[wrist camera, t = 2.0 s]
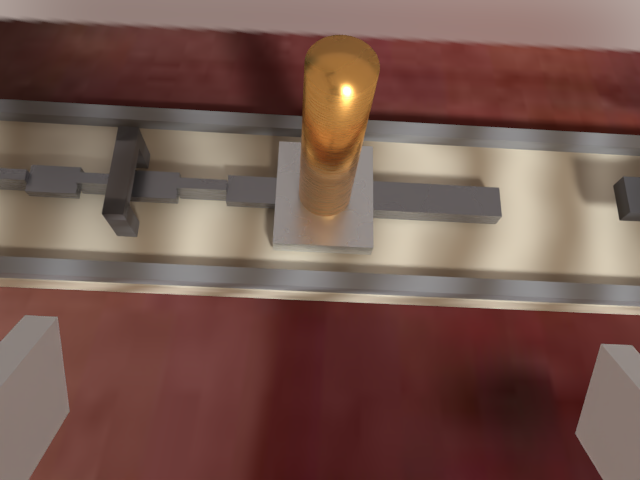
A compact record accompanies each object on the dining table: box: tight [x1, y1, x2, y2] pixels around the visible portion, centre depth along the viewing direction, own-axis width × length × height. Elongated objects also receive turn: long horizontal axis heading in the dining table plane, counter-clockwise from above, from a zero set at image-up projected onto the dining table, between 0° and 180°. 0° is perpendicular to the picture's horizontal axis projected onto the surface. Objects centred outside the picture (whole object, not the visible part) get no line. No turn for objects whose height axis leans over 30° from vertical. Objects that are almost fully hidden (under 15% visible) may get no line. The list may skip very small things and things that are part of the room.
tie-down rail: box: [0, 99, 640, 315], centre depth 36 cm, size 49×12×5 cm, turn 88°
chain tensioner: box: [0, 35, 502, 255], centre depth 30 cm, size 32×7×13 cm, turn 88°
